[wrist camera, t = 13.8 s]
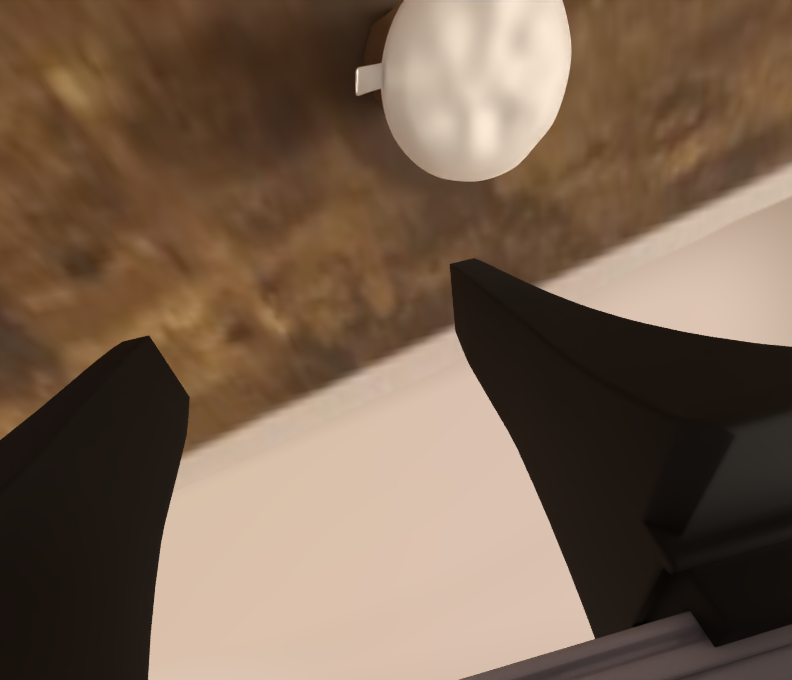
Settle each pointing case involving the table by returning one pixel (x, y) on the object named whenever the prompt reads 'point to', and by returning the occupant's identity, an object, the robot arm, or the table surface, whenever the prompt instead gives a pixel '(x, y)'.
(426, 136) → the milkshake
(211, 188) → the table surface
